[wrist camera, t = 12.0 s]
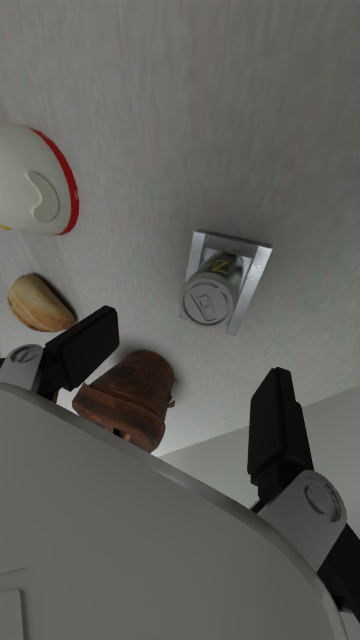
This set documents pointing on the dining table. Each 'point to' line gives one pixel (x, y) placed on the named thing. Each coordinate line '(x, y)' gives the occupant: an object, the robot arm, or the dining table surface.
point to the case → (130, 399)
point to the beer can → (213, 291)
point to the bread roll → (38, 305)
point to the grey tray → (250, 255)
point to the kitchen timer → (35, 183)
